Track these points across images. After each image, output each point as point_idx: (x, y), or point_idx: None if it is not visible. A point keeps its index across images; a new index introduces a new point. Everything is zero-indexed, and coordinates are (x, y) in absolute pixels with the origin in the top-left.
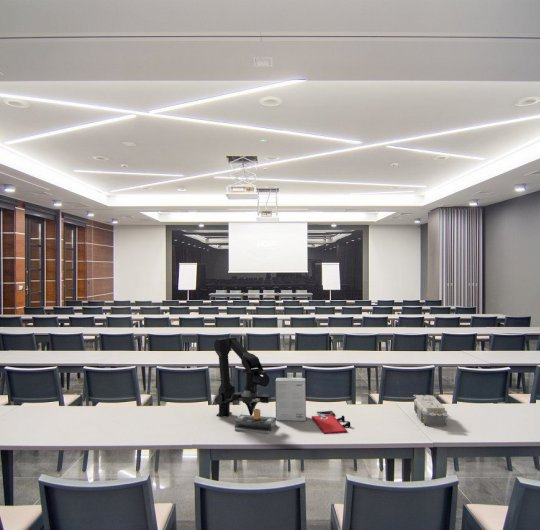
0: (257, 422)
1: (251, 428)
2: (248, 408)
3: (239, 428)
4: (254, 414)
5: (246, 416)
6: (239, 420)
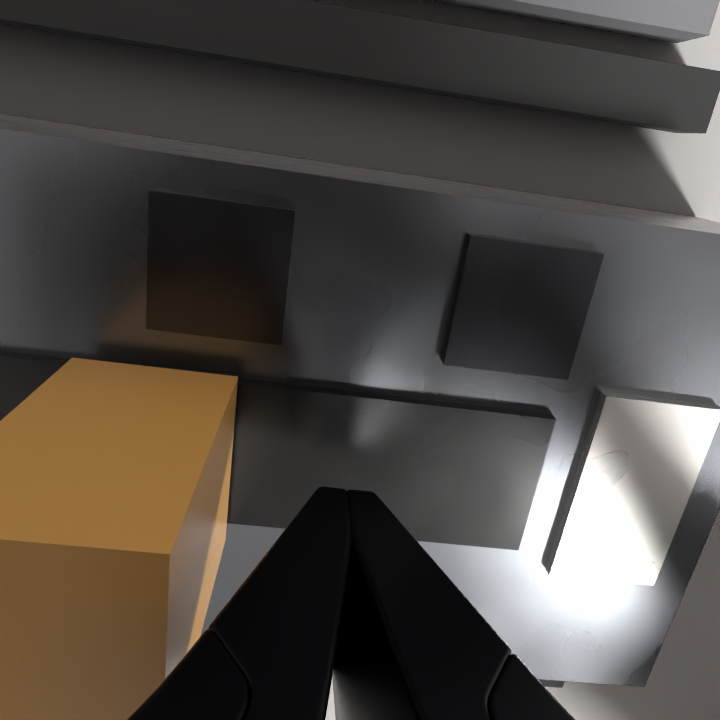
0: (49, 139)
1: (260, 49)
2: (492, 669)
3: (598, 2)
4: (178, 447)
5: (497, 583)
6: (682, 244)
